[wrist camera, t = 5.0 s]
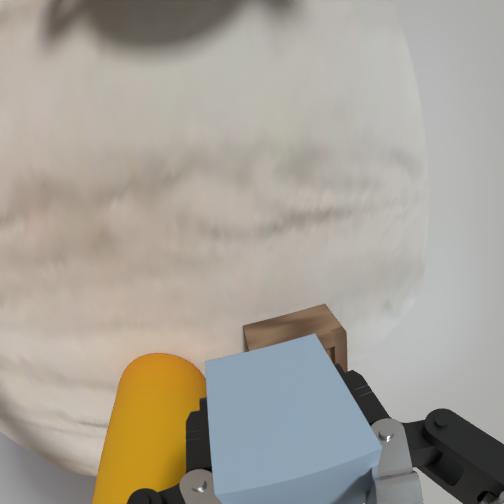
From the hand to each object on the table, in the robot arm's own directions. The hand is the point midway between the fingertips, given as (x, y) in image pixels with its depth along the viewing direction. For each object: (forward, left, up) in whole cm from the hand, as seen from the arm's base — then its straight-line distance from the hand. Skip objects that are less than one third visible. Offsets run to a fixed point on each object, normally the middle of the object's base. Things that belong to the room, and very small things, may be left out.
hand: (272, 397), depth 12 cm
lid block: (0, 0, -1) cm, 1 cm away
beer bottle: (-8, -12, -15) cm, 21 cm away
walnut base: (+5, -9, -15) cm, 18 cm away
